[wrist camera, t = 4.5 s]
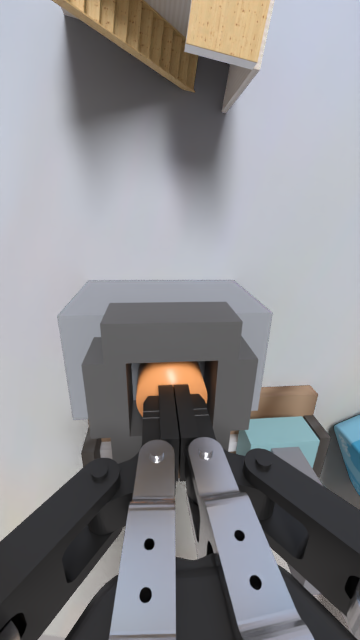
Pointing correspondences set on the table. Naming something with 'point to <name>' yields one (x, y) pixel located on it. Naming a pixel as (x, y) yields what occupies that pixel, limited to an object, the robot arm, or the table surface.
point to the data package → (350, 447)
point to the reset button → (168, 379)
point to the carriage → (284, 451)
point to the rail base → (270, 406)
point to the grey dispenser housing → (162, 351)
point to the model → (184, 35)
